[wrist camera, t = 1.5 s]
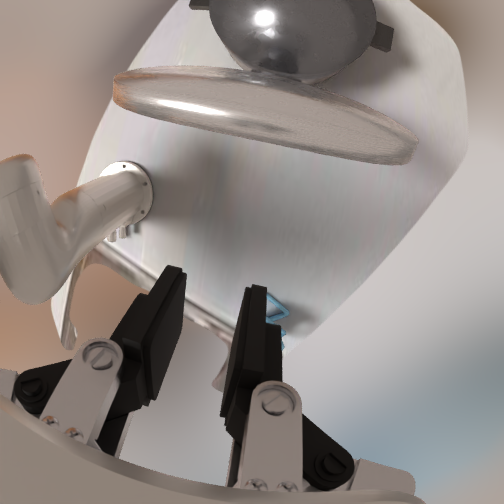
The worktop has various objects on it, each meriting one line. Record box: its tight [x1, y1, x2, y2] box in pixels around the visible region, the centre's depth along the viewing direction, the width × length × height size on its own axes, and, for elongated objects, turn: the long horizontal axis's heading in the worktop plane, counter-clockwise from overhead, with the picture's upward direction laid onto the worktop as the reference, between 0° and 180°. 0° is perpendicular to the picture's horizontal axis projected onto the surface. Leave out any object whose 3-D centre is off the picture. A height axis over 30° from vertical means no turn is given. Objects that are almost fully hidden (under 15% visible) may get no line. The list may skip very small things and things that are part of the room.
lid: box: [113, 66, 419, 165], centre depth 20 cm, size 25×23×4 cm
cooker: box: [189, 0, 394, 85], centre depth 29 cm, size 22×28×12 cm
